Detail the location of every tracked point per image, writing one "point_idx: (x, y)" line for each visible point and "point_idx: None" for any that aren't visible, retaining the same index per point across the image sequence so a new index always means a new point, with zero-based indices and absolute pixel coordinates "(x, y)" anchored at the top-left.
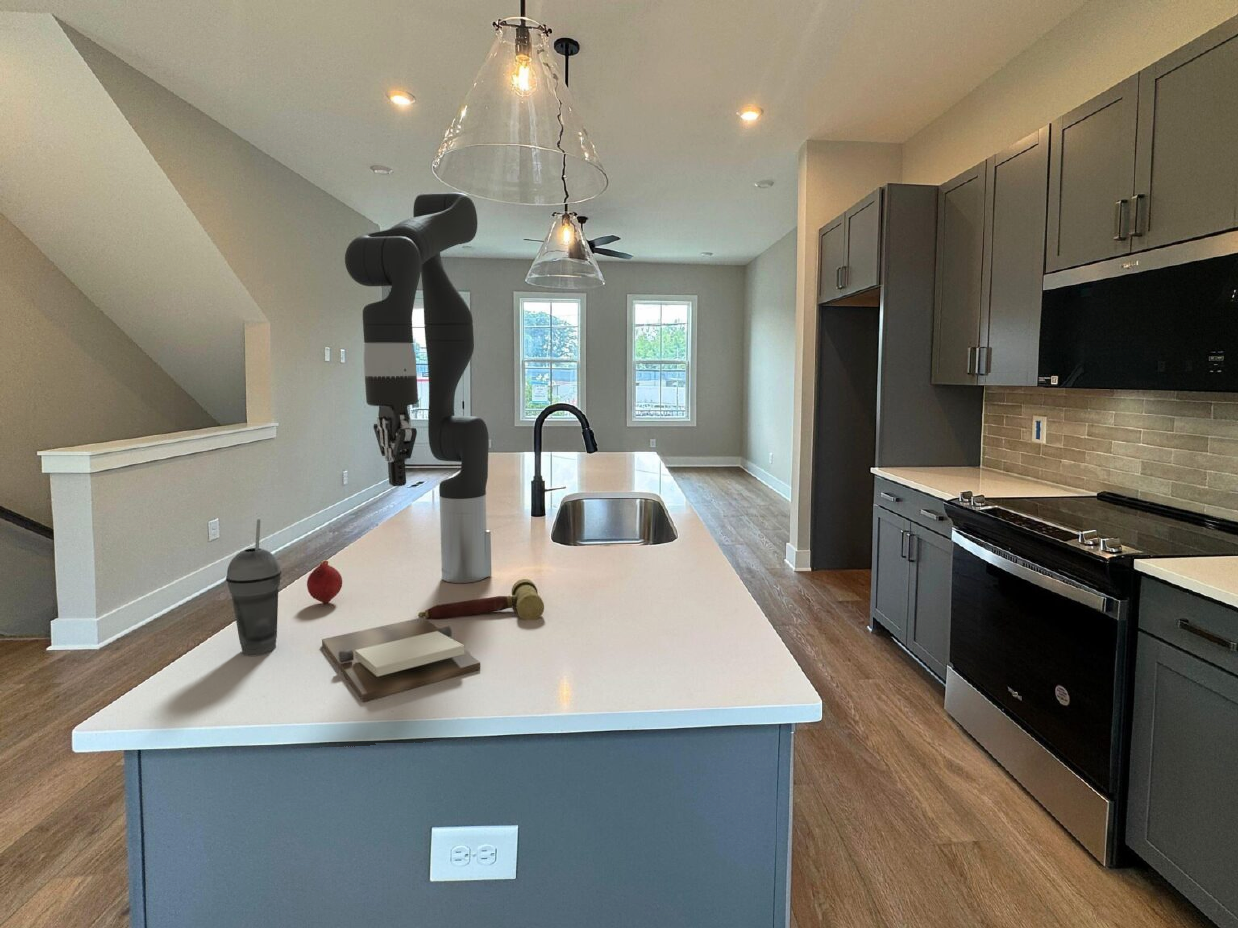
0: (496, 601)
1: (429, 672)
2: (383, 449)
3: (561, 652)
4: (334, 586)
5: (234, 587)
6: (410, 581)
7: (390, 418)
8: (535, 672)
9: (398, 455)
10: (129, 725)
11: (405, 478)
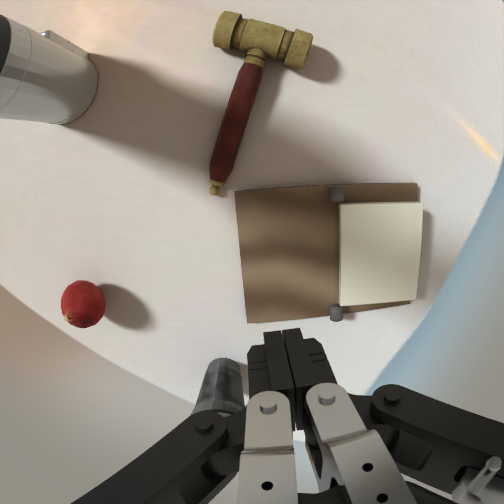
0: (257, 82)
1: None
2: (229, 479)
3: (418, 88)
4: (98, 295)
5: None
6: (49, 170)
7: None
8: (444, 139)
9: (406, 434)
10: None
11: (302, 339)
